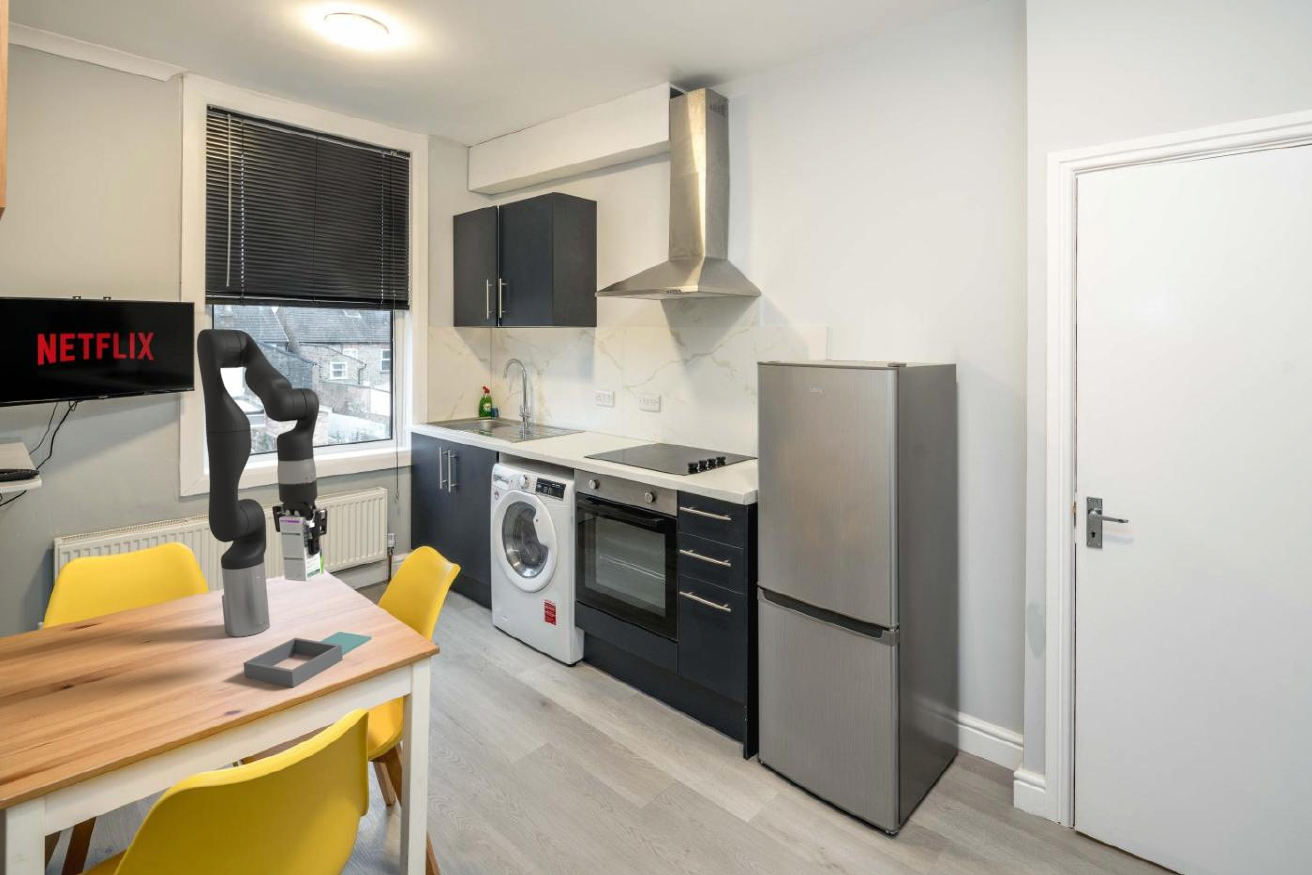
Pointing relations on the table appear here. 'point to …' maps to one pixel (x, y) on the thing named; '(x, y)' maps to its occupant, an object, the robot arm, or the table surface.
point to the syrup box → (298, 550)
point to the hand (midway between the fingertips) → (302, 552)
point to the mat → (347, 640)
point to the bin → (324, 658)
